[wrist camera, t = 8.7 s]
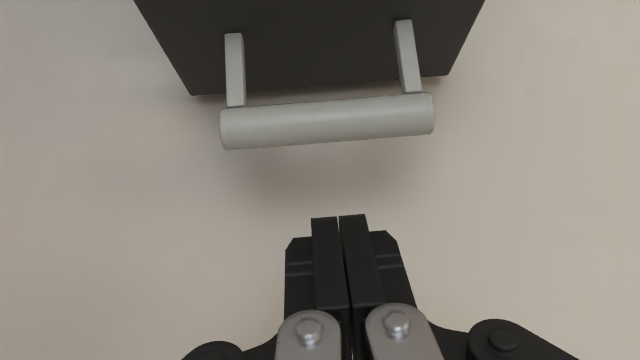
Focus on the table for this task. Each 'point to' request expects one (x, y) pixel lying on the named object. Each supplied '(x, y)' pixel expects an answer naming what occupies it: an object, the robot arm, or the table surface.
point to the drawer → (312, 61)
